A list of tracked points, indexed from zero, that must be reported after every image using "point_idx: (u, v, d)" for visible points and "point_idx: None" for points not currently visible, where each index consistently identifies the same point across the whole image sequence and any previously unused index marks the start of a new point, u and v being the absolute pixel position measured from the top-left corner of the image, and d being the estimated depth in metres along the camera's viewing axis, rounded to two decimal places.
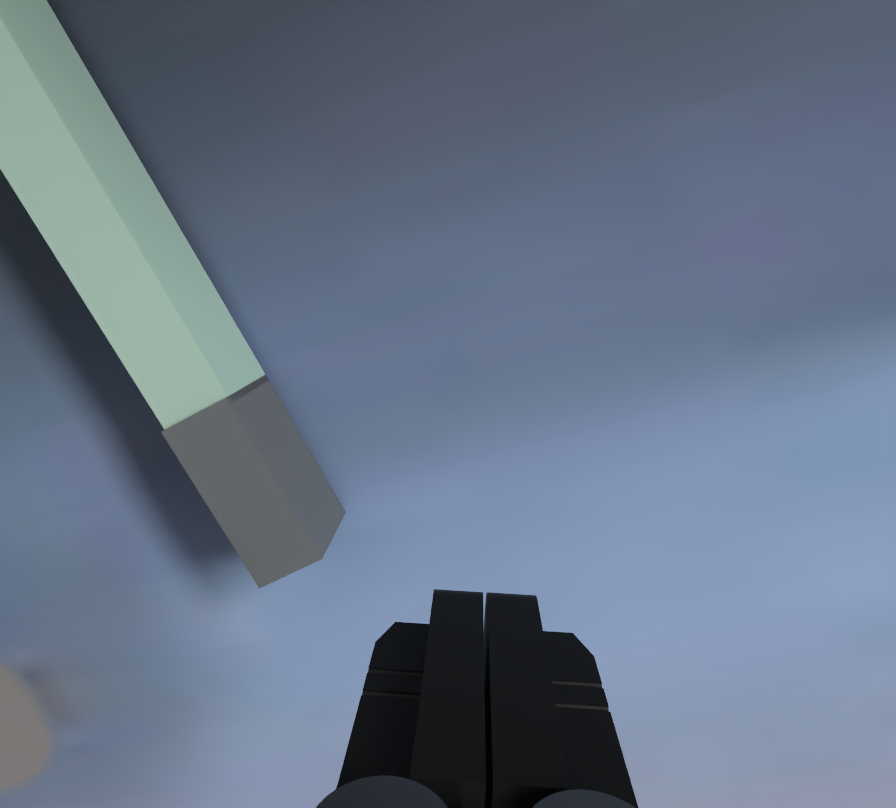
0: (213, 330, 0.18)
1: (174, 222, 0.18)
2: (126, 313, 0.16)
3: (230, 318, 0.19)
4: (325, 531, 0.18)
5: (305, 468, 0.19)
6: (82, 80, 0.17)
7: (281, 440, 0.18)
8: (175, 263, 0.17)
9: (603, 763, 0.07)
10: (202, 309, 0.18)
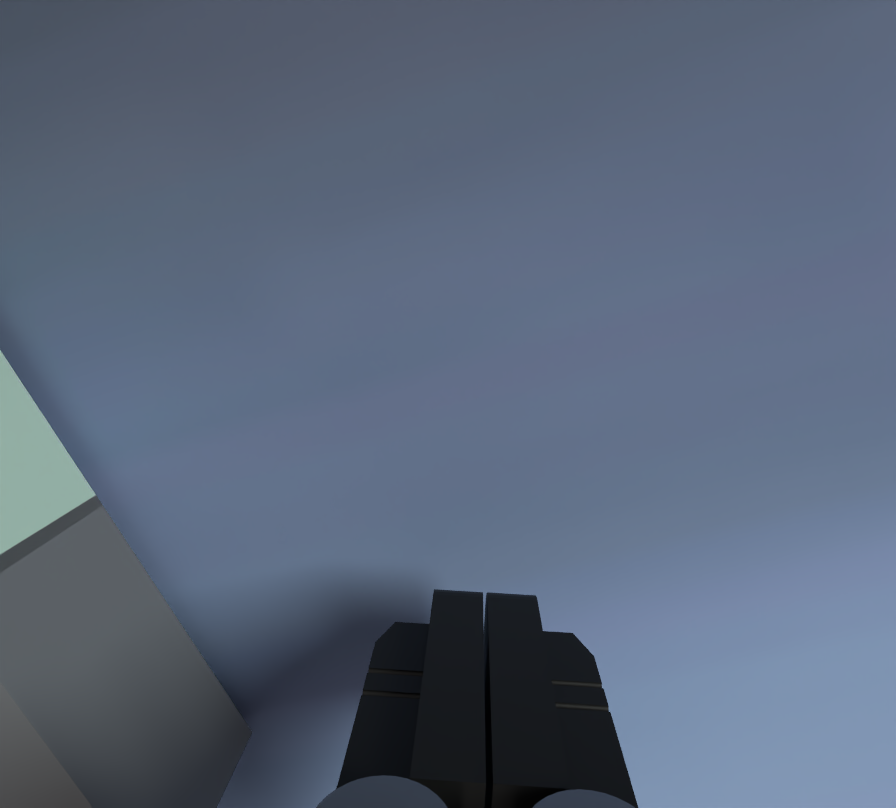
0: None
1: None
2: None
3: (22, 394, 0.10)
4: None
5: (164, 678, 0.10)
6: None
7: (107, 638, 0.09)
8: None
9: (603, 763, 0.07)
10: None
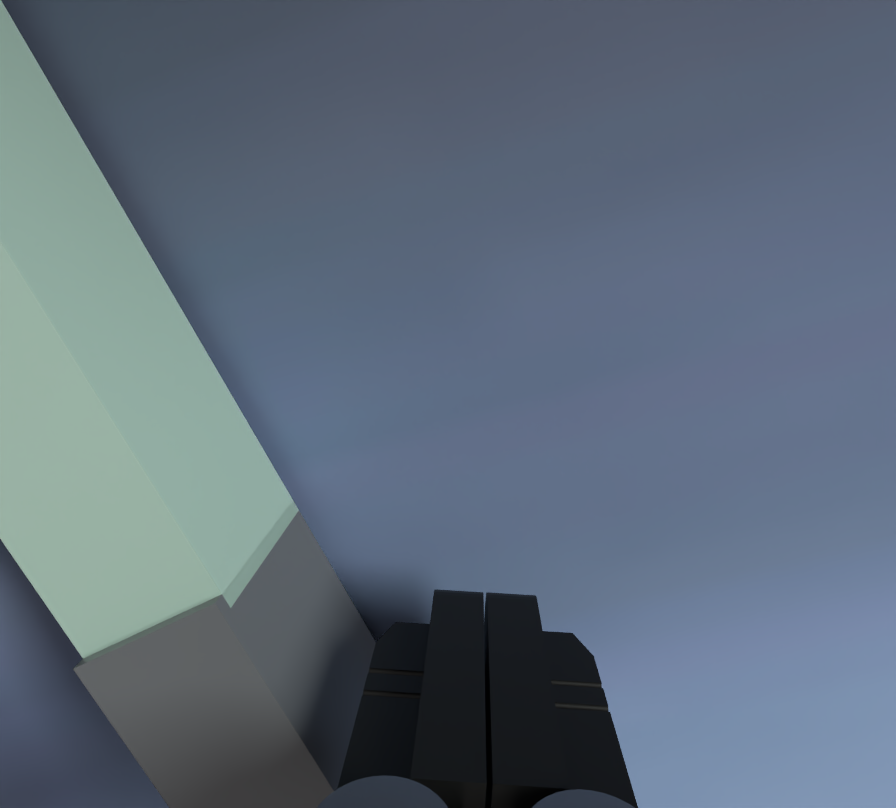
0: (192, 434, 0.09)
1: (120, 213, 0.09)
2: None
3: (228, 398, 0.10)
4: None
5: None
6: None
7: (326, 645, 0.09)
8: (114, 297, 0.08)
9: (603, 763, 0.07)
10: (171, 392, 0.08)
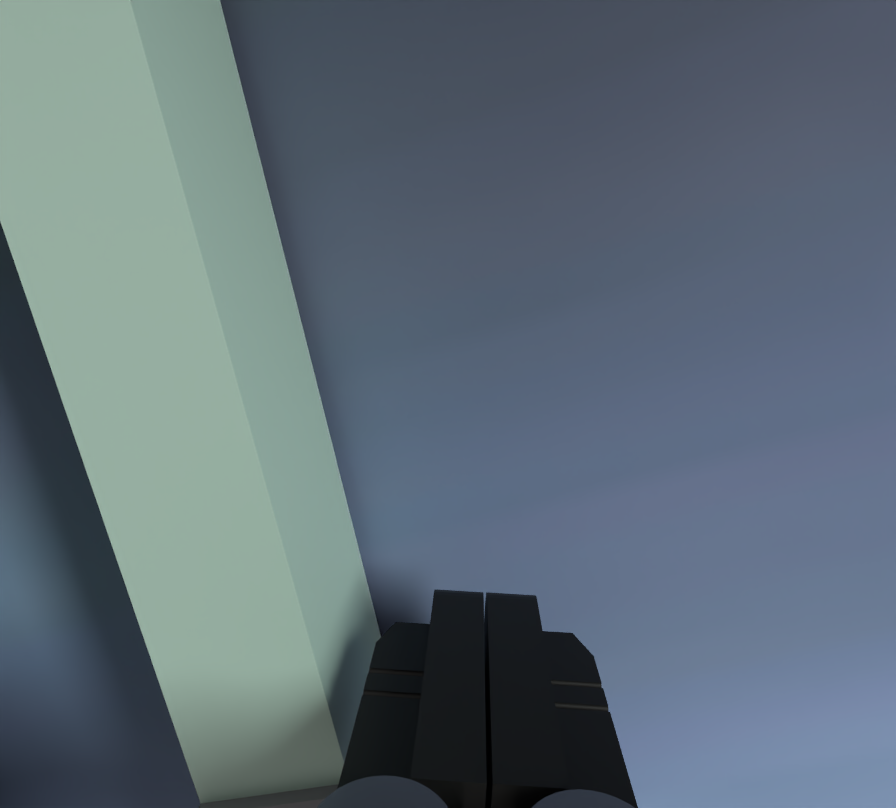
0: (339, 604, 0.09)
1: (308, 362, 0.10)
2: (193, 585, 0.08)
3: (355, 545, 0.11)
4: None
5: None
6: (221, 66, 0.08)
7: None
8: (305, 469, 0.09)
9: (603, 763, 0.07)
10: (329, 561, 0.09)
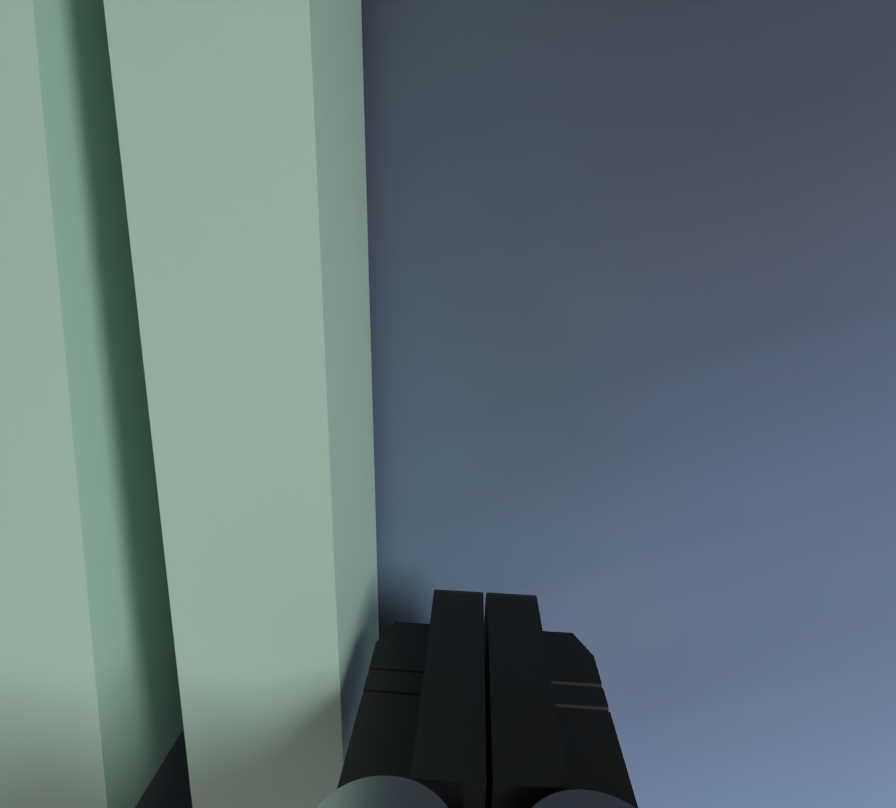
0: (361, 692, 0.09)
1: (372, 446, 0.10)
2: (243, 672, 0.08)
3: (377, 622, 0.11)
4: None
5: None
6: (357, 166, 0.09)
7: None
8: (358, 562, 0.09)
9: (603, 763, 0.07)
10: (361, 650, 0.09)
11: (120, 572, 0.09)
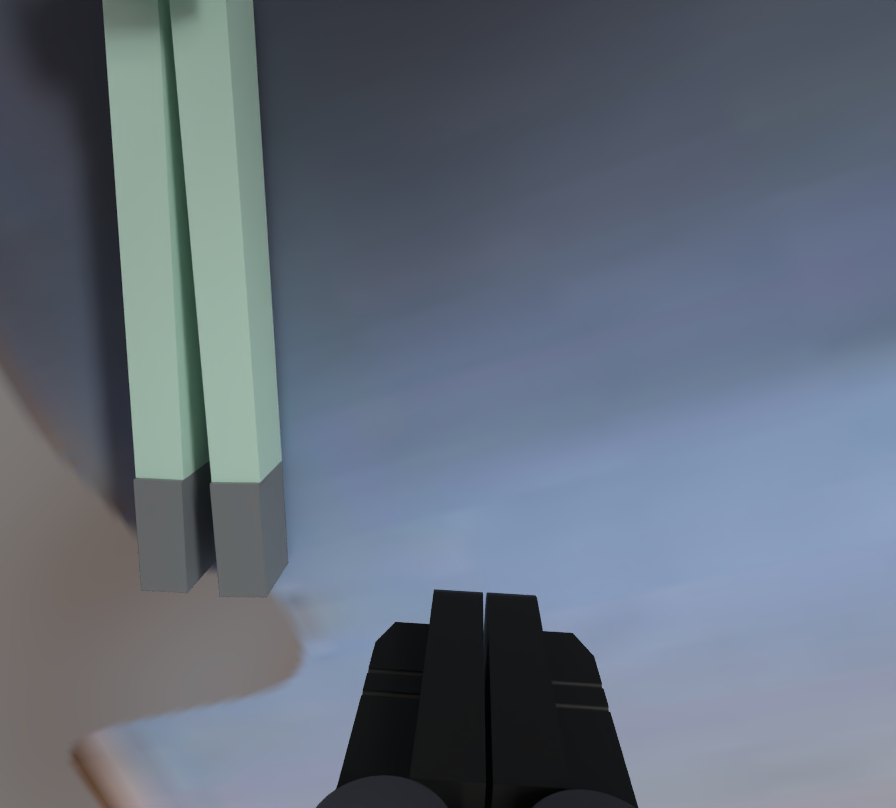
0: (267, 432, 0.27)
1: (273, 350, 0.28)
2: (225, 410, 0.25)
3: (278, 419, 0.28)
4: (273, 578, 0.28)
5: (279, 531, 0.29)
6: (263, 252, 0.26)
7: (274, 511, 0.28)
8: (265, 385, 0.27)
9: (603, 763, 0.07)
10: (267, 417, 0.27)
11: (186, 386, 0.26)
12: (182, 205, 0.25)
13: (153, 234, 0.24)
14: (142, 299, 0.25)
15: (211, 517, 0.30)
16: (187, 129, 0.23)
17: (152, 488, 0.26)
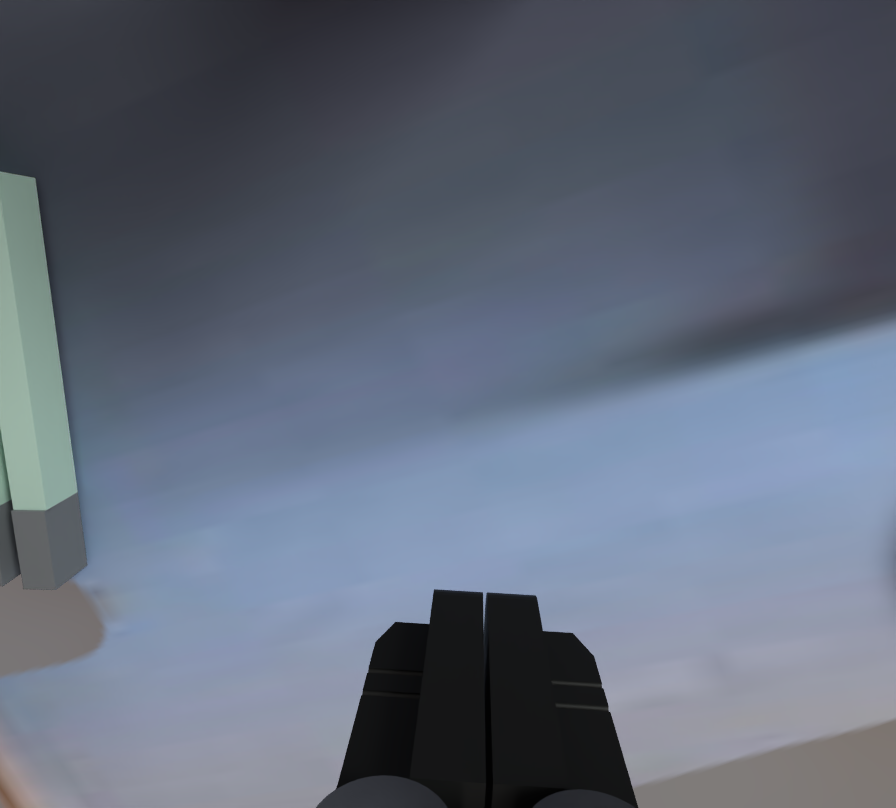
0: (56, 474, 0.38)
1: (65, 415, 0.39)
2: (19, 460, 0.37)
3: (72, 463, 0.40)
4: (66, 576, 0.39)
5: (73, 542, 0.40)
6: (50, 349, 0.38)
7: (66, 529, 0.39)
8: (53, 441, 0.38)
9: (603, 763, 0.07)
10: (56, 463, 0.38)
11: None
12: None
13: None
14: None
15: None
16: None
17: None
